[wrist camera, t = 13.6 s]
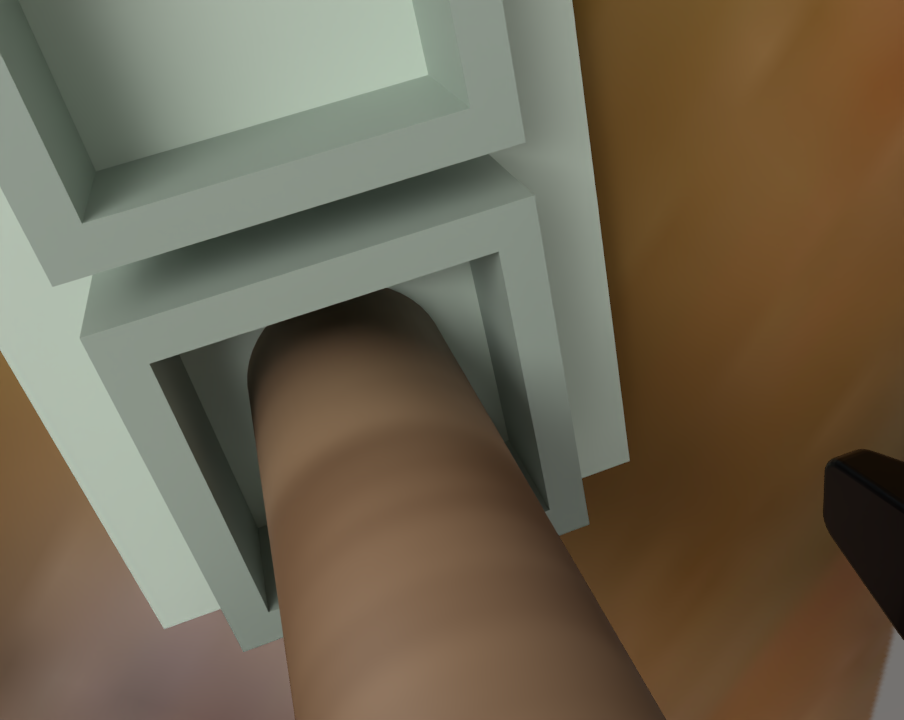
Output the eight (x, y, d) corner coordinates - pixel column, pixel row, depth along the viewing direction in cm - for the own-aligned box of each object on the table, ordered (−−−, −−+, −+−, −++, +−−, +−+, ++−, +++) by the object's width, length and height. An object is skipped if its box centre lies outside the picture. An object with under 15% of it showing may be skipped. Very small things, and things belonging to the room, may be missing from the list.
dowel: (463, 421, 15) (704, 875, 8) (283, 483, 14) (380, 1016, 8) (421, 256, 13) (683, 658, 6) (216, 321, 13) (264, 824, 6)
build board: (602, 426, 17) (682, 528, 15) (165, 582, 16) (162, 723, 13) (467, -527, 10) (576, -676, 7) (-364, -360, 9) (-604, -464, 6)
